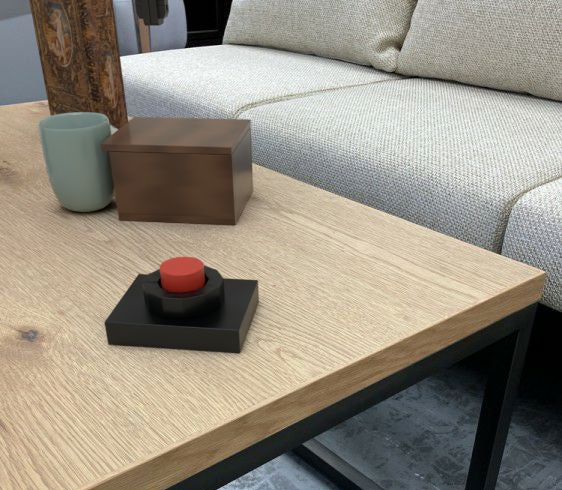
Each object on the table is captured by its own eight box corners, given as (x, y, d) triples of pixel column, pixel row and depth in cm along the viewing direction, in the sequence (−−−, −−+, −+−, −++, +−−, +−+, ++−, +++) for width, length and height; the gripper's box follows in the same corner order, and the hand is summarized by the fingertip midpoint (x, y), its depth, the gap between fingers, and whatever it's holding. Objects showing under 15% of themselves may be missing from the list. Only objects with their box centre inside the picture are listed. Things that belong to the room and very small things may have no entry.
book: (135, 139, 108) (111, -50, 94) (103, 146, 105) (74, -48, 91) (82, 120, 118) (54, -53, 104) (52, 126, 115) (19, -52, 101)
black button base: (107, 345, 57) (100, 302, 55) (141, 295, 65) (136, 254, 62) (240, 354, 56) (237, 310, 54) (259, 301, 63) (257, 260, 61)
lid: (101, 151, 76) (100, 143, 75) (134, 123, 85) (134, 116, 85) (231, 154, 74) (231, 147, 74) (251, 126, 84) (250, 119, 83)
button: (156, 293, 57) (153, 273, 56) (168, 274, 60) (166, 255, 59) (199, 295, 56) (197, 276, 55) (209, 276, 59) (208, 257, 58)
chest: (118, 220, 80) (108, 151, 76) (148, 186, 90) (141, 124, 85) (235, 225, 78) (231, 155, 74) (253, 190, 88) (251, 126, 84)
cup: (127, 195, 87) (116, 111, 81) (112, 218, 81) (99, 129, 75) (65, 195, 87) (50, 111, 82) (46, 218, 81) (27, 129, 75)
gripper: (214, -206, 60) (228, 18, 70) (67, -199, 62) (100, 19, 71) (196, -218, 54) (214, 29, 64) (33, -210, 55) (74, 31, 65)
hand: (153, 24), depth 68 cm, fingers closed
